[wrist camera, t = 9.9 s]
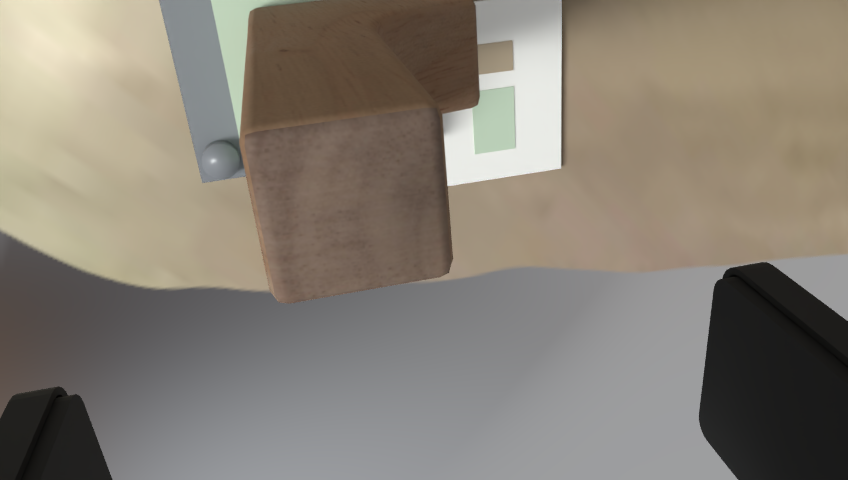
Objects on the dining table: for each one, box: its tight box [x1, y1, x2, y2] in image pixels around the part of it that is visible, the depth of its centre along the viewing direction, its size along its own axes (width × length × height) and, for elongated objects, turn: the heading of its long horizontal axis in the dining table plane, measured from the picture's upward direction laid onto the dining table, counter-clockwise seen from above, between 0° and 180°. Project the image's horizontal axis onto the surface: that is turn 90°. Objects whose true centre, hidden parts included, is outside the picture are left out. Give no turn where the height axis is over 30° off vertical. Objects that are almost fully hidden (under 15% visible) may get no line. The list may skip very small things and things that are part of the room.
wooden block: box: [239, 0, 480, 303], centre depth 25 cm, size 9×4×18 cm, turn 95°
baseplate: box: [159, 0, 320, 183], centre depth 35 cm, size 12×12×5 cm
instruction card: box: [442, 0, 562, 186], centre depth 40 cm, size 8×10×1 cm
